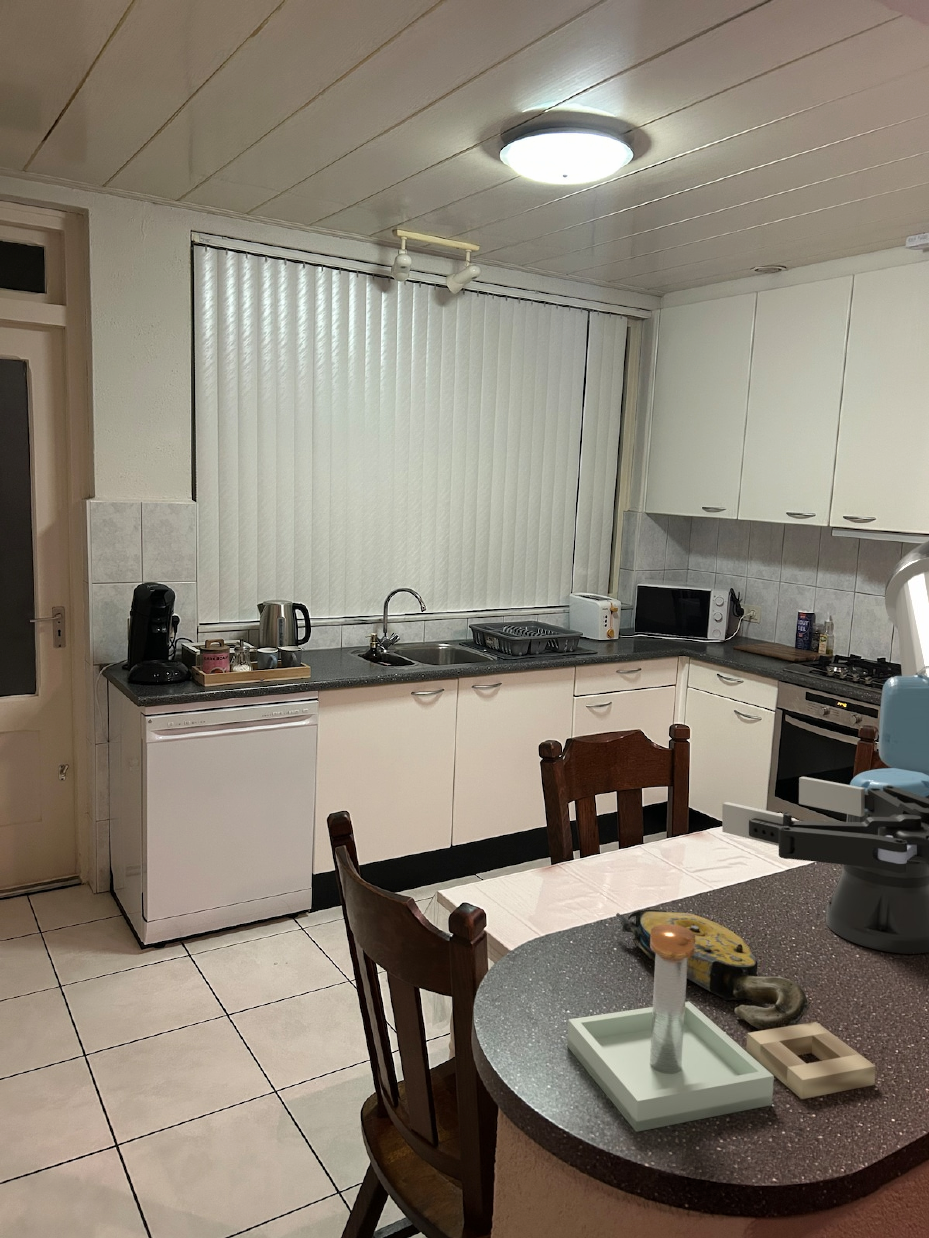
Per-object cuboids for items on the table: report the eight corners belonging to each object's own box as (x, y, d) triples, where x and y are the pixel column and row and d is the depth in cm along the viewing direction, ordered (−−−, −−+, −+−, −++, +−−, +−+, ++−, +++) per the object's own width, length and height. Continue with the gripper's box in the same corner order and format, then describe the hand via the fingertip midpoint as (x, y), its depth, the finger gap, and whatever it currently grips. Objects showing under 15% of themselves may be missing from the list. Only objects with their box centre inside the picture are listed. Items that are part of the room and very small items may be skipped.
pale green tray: (687, 1026, 104) (689, 1001, 104) (771, 1104, 90) (773, 1075, 90) (567, 1045, 100) (568, 1019, 99) (636, 1131, 86) (637, 1100, 85)
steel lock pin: (672, 1050, 98) (680, 922, 96) (695, 1073, 94) (703, 940, 92) (635, 1056, 96) (642, 926, 95) (657, 1080, 92) (665, 944, 91)
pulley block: (744, 993, 100) (614, 891, 128) (734, 1045, 100) (606, 932, 128) (848, 997, 104) (700, 897, 133) (838, 1047, 104) (693, 937, 133)
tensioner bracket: (814, 1038, 103) (815, 1021, 103) (874, 1084, 94) (875, 1065, 94) (746, 1050, 100) (747, 1032, 100) (801, 1098, 92) (802, 1079, 91)
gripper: (934, 943, 66) (688, 870, 83) (1053, 862, 83) (828, 814, 99) (936, 841, 66) (688, 788, 82) (1055, 780, 82) (828, 745, 98)
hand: (764, 802), depth 90 cm, fingers open, 13 cm apart
